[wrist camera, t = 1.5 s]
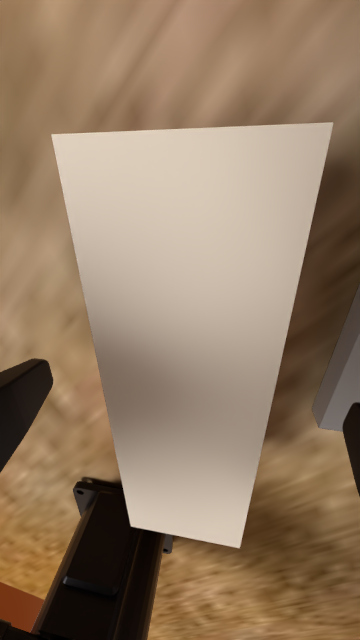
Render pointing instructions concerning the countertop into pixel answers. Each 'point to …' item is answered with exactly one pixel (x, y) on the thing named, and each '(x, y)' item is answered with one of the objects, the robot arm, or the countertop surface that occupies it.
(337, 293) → the countertop surface
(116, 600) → the robot arm
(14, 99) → the countertop surface
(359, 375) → the jig
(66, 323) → the countertop surface
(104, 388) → the block
